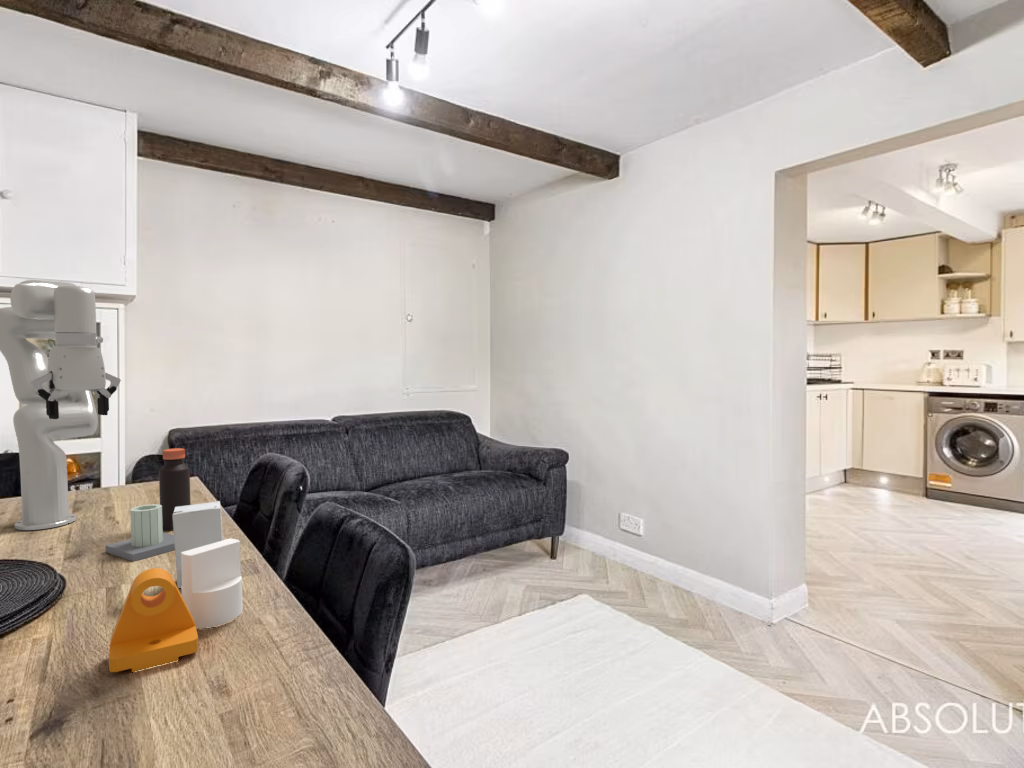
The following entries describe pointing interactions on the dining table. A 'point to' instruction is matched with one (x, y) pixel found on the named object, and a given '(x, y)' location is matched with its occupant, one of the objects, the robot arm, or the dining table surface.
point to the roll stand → (141, 548)
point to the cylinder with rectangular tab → (212, 582)
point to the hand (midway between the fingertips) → (79, 416)
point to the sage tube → (146, 525)
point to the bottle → (173, 484)
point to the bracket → (152, 625)
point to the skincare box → (195, 529)
